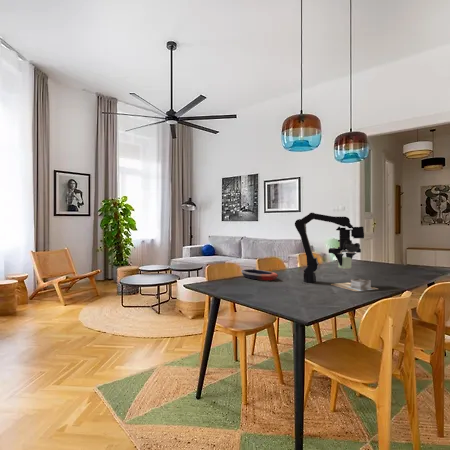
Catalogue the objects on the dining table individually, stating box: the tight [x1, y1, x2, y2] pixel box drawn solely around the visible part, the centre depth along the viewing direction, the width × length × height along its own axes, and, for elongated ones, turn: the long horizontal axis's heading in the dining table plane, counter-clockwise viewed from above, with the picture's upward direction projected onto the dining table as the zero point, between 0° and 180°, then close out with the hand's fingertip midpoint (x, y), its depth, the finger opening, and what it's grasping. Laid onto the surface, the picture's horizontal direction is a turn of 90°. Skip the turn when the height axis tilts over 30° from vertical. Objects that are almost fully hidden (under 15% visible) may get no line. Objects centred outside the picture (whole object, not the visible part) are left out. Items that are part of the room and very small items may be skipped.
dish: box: [240, 268, 279, 281], centre depth 210 cm, size 16×31×5 cm, turn 37°
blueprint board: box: [330, 277, 378, 294], centre depth 176 cm, size 16×20×6 cm
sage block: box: [337, 256, 352, 270], centre depth 183 cm, size 5×5×6 cm
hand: (344, 265), depth 183 cm, fingers closed on sage block, 5 cm apart
